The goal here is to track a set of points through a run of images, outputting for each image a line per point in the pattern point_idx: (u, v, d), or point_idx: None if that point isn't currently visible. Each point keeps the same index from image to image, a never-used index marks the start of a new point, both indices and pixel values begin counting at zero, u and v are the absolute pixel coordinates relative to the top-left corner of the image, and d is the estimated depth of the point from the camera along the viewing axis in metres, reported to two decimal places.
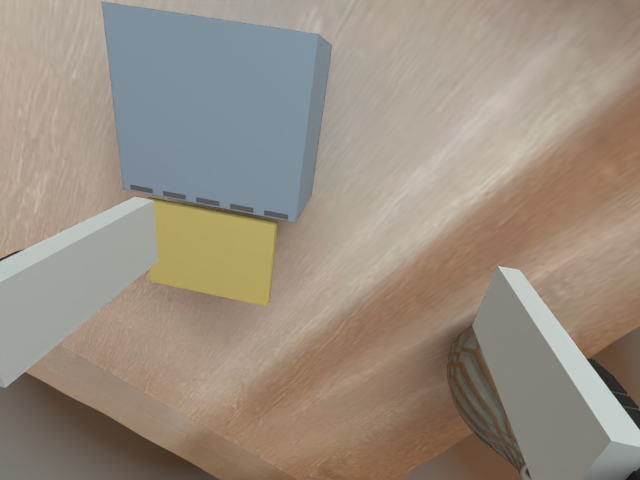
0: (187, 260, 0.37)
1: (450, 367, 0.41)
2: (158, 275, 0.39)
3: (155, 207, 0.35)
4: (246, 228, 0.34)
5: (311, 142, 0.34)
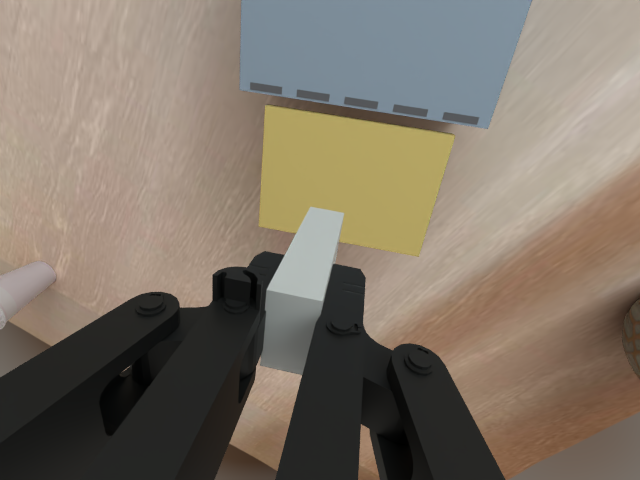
0: (315, 194, 0.28)
1: None
2: (271, 217, 0.29)
3: (282, 116, 0.26)
4: (411, 141, 0.25)
5: None
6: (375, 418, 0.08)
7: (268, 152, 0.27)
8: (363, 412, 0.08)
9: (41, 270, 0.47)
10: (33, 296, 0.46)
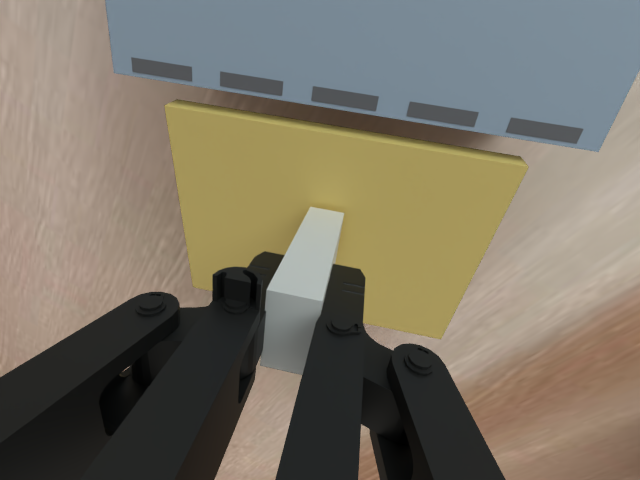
0: (274, 249, 0.17)
1: None
2: (209, 276, 0.19)
3: (198, 124, 0.14)
4: (440, 174, 0.13)
5: None
6: (375, 418, 0.08)
7: (187, 185, 0.15)
8: (363, 412, 0.08)
9: None
10: None
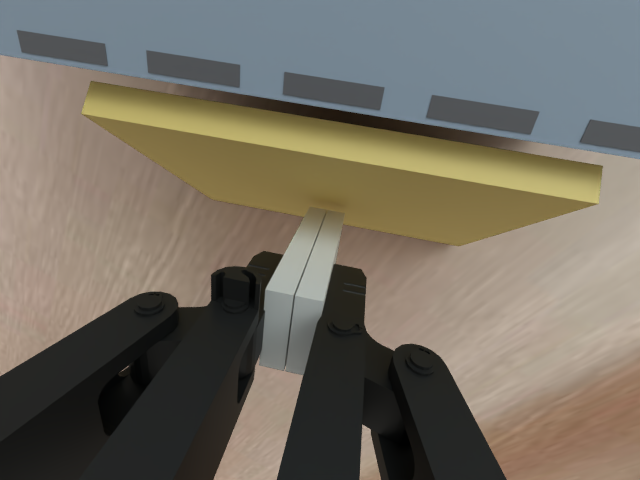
0: (278, 197, 0.15)
1: None
2: (223, 198, 0.18)
3: (137, 130, 0.10)
4: (467, 192, 0.10)
5: None
6: (376, 418, 0.08)
7: (160, 160, 0.13)
8: (364, 412, 0.08)
9: None
10: None
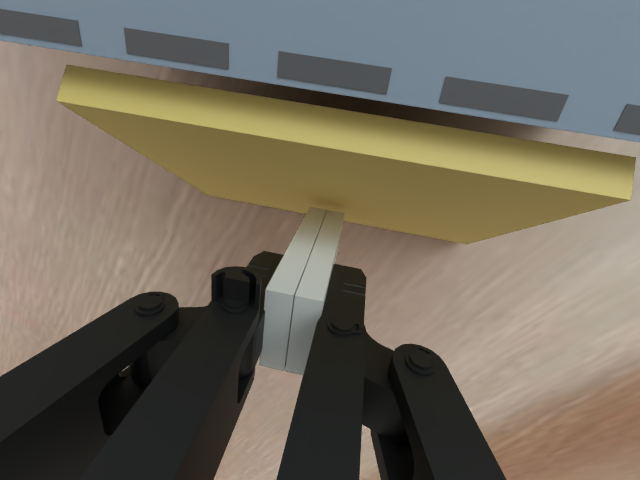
0: (276, 192, 0.14)
1: None
2: (219, 193, 0.17)
3: (119, 119, 0.09)
4: (482, 187, 0.09)
5: None
6: (375, 418, 0.08)
7: (148, 152, 0.12)
8: (364, 412, 0.08)
9: None
10: None
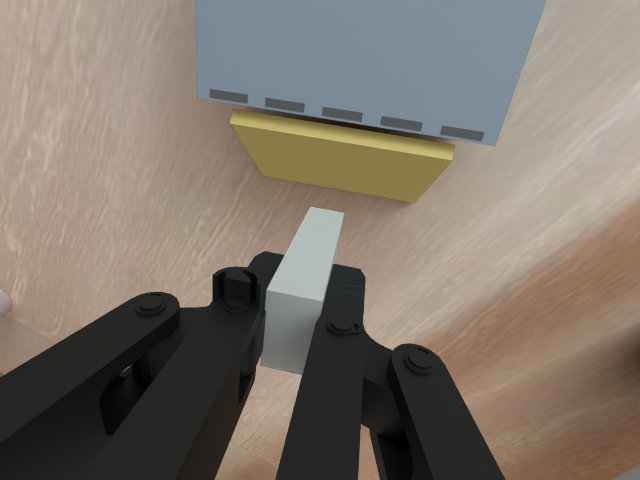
0: (309, 169, 0.27)
1: None
2: (272, 174, 0.30)
3: (252, 130, 0.22)
4: (401, 157, 0.22)
5: None
6: (375, 417, 0.08)
7: (250, 147, 0.25)
8: (363, 412, 0.08)
9: None
10: None
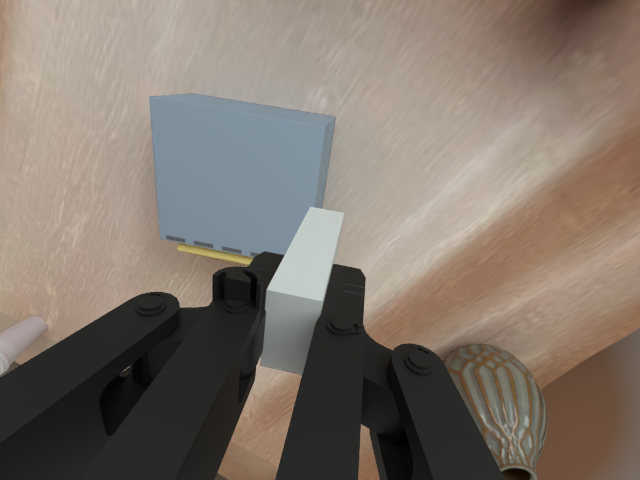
0: (229, 261, 0.47)
1: None
2: None
3: (189, 252, 0.42)
4: None
5: (318, 200, 0.40)
6: (375, 418, 0.08)
7: (192, 253, 0.45)
8: (363, 412, 0.08)
9: (35, 324, 0.62)
10: (29, 344, 0.61)
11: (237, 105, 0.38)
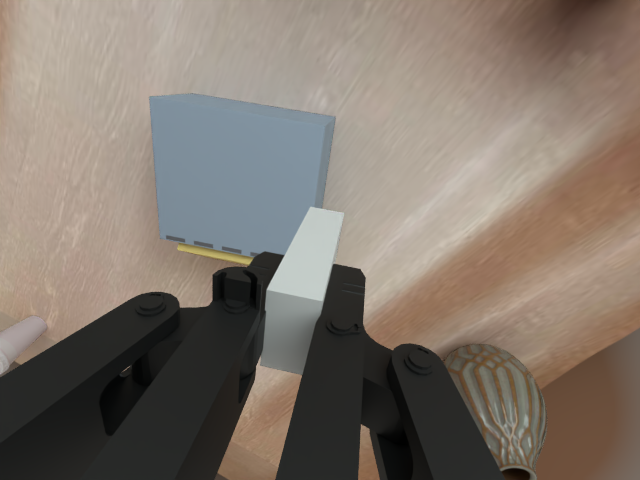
0: None
1: None
2: None
3: (189, 252, 0.42)
4: None
5: (318, 200, 0.40)
6: (375, 417, 0.08)
7: None
8: (363, 412, 0.08)
9: (35, 323, 0.62)
10: (29, 344, 0.61)
11: (237, 105, 0.38)
